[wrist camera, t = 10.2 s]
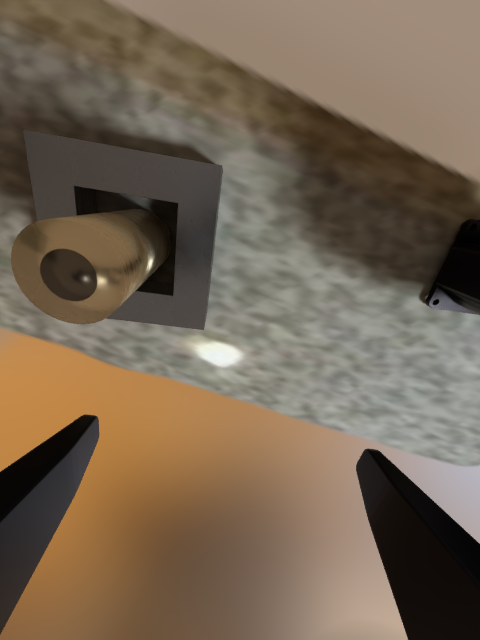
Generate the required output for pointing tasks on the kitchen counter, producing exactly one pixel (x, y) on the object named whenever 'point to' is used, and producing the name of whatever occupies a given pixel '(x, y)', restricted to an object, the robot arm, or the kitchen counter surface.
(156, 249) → the bushing
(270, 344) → the kitchen counter surface
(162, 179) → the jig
